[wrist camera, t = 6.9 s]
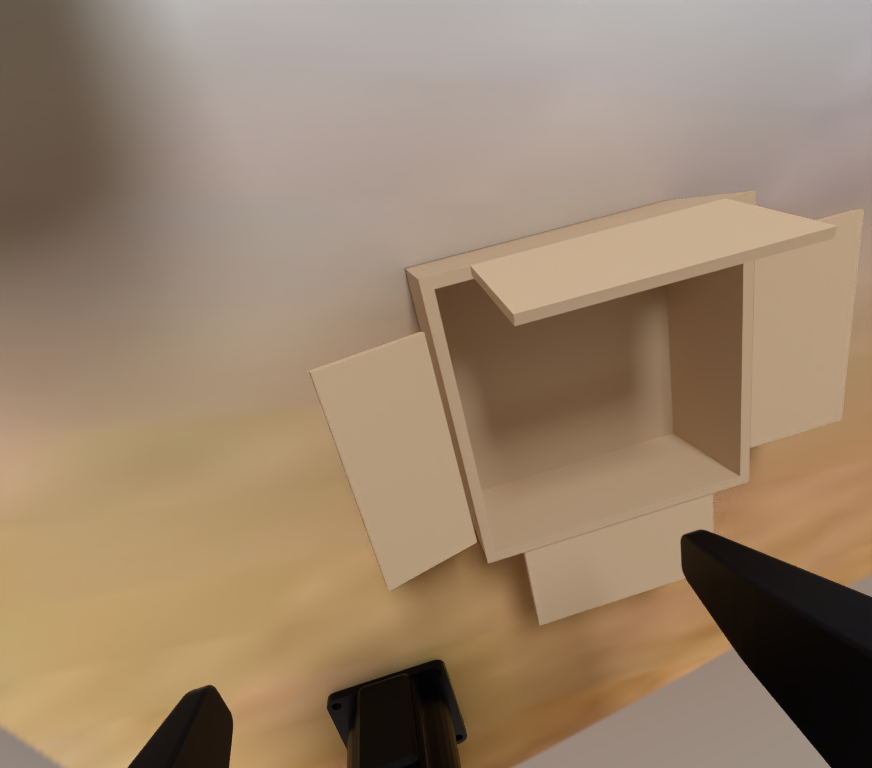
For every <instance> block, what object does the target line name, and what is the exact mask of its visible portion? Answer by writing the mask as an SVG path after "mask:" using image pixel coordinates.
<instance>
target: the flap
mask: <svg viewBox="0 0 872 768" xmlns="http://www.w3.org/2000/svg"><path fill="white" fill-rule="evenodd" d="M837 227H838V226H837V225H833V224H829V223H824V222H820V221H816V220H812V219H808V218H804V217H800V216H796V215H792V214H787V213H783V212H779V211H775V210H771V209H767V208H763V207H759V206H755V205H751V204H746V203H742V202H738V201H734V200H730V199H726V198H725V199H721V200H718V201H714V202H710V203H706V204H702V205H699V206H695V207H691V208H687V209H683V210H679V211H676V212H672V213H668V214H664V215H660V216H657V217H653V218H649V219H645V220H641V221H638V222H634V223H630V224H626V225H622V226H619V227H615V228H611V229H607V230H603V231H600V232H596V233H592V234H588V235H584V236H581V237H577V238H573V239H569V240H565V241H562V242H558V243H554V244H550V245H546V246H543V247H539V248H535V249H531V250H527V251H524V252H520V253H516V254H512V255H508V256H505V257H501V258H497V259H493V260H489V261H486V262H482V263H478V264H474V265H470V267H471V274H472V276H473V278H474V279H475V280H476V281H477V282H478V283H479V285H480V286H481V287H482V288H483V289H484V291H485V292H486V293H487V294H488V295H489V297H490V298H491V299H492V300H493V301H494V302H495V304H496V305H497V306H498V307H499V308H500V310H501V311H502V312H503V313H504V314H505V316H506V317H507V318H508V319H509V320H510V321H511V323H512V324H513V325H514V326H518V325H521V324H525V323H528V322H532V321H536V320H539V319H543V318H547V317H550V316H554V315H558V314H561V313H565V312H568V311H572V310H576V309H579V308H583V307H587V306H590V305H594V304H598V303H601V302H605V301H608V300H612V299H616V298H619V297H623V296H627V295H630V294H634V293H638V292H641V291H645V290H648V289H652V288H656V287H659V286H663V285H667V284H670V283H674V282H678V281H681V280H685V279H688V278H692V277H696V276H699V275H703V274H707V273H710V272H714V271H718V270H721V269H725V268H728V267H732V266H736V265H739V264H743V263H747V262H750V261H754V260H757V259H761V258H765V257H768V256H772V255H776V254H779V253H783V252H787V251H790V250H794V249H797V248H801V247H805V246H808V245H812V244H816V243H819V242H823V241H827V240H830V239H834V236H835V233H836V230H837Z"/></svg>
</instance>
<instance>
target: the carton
mask: <svg viewBox="0 0 872 768" xmlns="http://www.w3.org/2000/svg"><path fill="white" fill-rule="evenodd" d="M725 198H726V199H730V200H734V201H738V202H742V203H746V204H751V205H755V206H756V191H748V192H739V193H730V194H720V195H711V196H702V197H693V198H684V199H674V200H665V201H662V202H658V203H654V204H650V205H646V206H642V207H639V208H635V209H631V210H627V211H623V212H619V213H616V214H612V215H608V216H604V217H600V218H596V219H593V220H589V221H585V222H581V223H577V224H573V225H569V226H566V227H562V228H558V229H554V230H550V231H546V232H543V233H539V234H535V235H531V236H527V237H523V238H520V239H516V240H512V241H508V242H504V243H500V244H497V245H493V246H489V247H485V248H481V249H477V250H474V251H470V252H466V253H462V254H458V255H454V256H451V257H447V258H443V259H439V260H435V261H431V262H428V263H424V264H420V265H416V266H412V267H408V268H405V272H406V276H407V279H408V283H409V287H410V291H411V295H412V299H413V303H414V307H415V311H416V315H417V319H418V323H419V327H420V330H421V332H423V333H425V337H426V341H427V345H428V349H429V353H430V357H431V361H432V365H433V369H434V373H435V377H436V381H437V385H438V389H439V393H440V397H441V401H442V405H443V409H444V413H445V417H446V421H447V425H448V429H449V433H450V437H451V441H452V445H453V449H454V452H455V456H456V460H457V464H458V468H459V472H460V476H461V480H462V484H463V488H464V492H465V496H466V500H467V504H468V508H469V512H470V516H471V520H472V523H473V525H474V528H475V531H476V533H477V536H478V538H479V541H480V544H481V546H482V549H483V551H484V554H485V557H486V559H487V562H488V564H489V563H492V562H495V561H498V560H501V559H505V558H508V557H511V556H514V555H517V554H520V553H523V554H524V559H525V564H526V569H527V574H528V578H529V583H530V588H531V593H532V598H533V603H534V607H535V612H536V617H537V621H538V623H539V625H540V626H541V625H544V624H547V623H550V622H553V621H556V620H559V619H562V618H565V617H568V616H571V615H574V614H577V613H580V612H583V611H586V610H590V609H593V608H596V607H599V606H602V605H605V604H608V603H611V602H614V601H617V600H620V599H623V598H626V597H629V596H632V595H635V594H639V593H642V592H645V591H648V590H651V589H654V588H657V587H660V586H663V585H666V584H669V583H672V582H675V581H678V580H681V579H684V578H685V576H684V574H683V571H682V567H681V545H680V540H681V537H682V535H684V534H686V533H689V532H692V531H696V530H700V529H703V530H707V531H709V532H712V533H713V493H715V492H718V491H721V490H725V489H728V488H731V487H734V486H737V485H741V484H744V483H747V482H749V467H750V448H752V447H755V446H758V445H761V444H765V443H768V442H771V441H774V440H778V439H781V438H784V437H787V436H791V435H794V434H797V433H800V432H804V431H807V430H810V429H813V428H817V427H820V426H823V425H826V424H830V423H833V422H836V421H839V420H842V412H843V402H844V393H845V384H846V374H847V365H848V356H849V346H850V337H851V328H852V318H853V309H854V300H855V290H856V281H857V272H858V262H859V253H860V244H861V234H862V225H863V216H864V209H859V210H852V211H848V212H844V213H841V214H837V215H833V216H830V217H826V218H822V219H819V220H816V221H820V222H824V223H829V224H833V225H837V226H838V227H837V230H836V233H835V236H834V239H830V240H827V241H823V242H819V243H816V244H812V245H808V246H805V247H801V248H797V249H794V250H790V251H787V252H783V253H779V254H776V255H772V256H768V257H765V258H761V259H757V260H754V261H750V262H747V263H743V264H739V265H736V266H732V267H728V268H725V269H721V270H718V271H714V272H710V273H707V274H703V275H699V276H696V277H692V278H688V279H685V280H681V281H678V282H674V283H670V284H667V285H663V286H659V287H656V288H652V289H648V290H645V291H641V292H638V293H634V294H630V295H627V296H623V297H619V298H616V299H612V300H608V301H605V302H601V303H598V304H594V305H590V306H587V307H583V308H579V309H576V310H572V311H568V312H565V313H561V314H558V315H554V316H550V317H547V318H543V319H539V320H536V321H532V322H528V323H525V324H521V325H518V326H514V325H513V324H512V323H511V321H510V320H509V319H508V318H507V317H506V316H505V314H504V313H503V312H502V311H501V310H500V308H499V307H498V306H497V305H496V304H495V302H494V301H493V300H492V299H491V298H490V297H489V295H488V294H487V293H486V292H485V291H484V289H483V288H482V287H481V286H480V285H479V283H478V282H477V281H476V280H475V279H474V278H473V276H472V274H471V267H470V265H474V264H478V263H482V262H486V261H489V260H493V259H497V258H501V257H505V256H508V255H512V254H516V253H520V252H524V251H527V250H531V249H535V248H539V247H543V246H546V245H550V244H554V243H558V242H562V241H565V240H569V239H573V238H577V237H581V236H584V235H588V234H592V233H596V232H600V231H603V230H607V229H611V228H615V227H619V226H622V225H626V224H630V223H634V222H638V221H641V220H645V219H649V218H653V217H657V216H660V215H664V214H668V213H672V212H676V211H679V210H683V209H687V208H691V207H695V206H699V205H702V204H706V203H710V202H714V201H718V200H721V199H725Z"/></svg>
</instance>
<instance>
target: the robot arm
mask: <svg viewBox="0 0 872 768" xmlns="http://www.w3.org/2000/svg"><path fill="white" fill-rule="evenodd" d="M680 545H681V567H682V571H683V574H684V576H685V578H686V580H687V581H688V583H689V584H690V586H691V587H692V589H693V590H694V591H695V593H696V594H697V596H698V597H699V599H700V600H701V602H702V603H703V604H704V606H705V607H706V609H707V610H708V612H709V613H710V615H711V616H712V618H713V619H714V620H715V622H716V623H717V625H718V626H719V628H720V629H721V631H722V632H723V633H724V635H725V636H726V638H727V639H728V641H729V642H730V644H731V645H732V646H733V648H734V649H735V651H736V652H737V653H738V655H739V656H740V657H741V659H742V660H743V661H744V663H745V664H746V665H747V666H748V668H749V669H750V670H751V671H752V673H753V674H754V675H755V676H756V677H757V679H758V680H759V681H760V682H761V683H762V685H763V686H764V687H765V688H766V690H767V691H768V692H769V693H770V694H771V696H772V697H773V698H774V699H775V700H776V702H777V703H778V704H779V705H780V706H781V708H782V709H783V710H784V711H785V712H786V714H787V715H788V716H789V717H790V719H791V720H792V721H793V722H794V723H795V724H796V726H797V727H798V728H799V729H800V730H801V732H802V733H803V734H804V735H805V737H806V738H807V739H808V740H809V741H810V743H811V744H812V745H813V746H814V747H815V749H816V750H817V751H818V752H819V753H820V755H821V756H822V757H823V758H824V760H825V761H826V762H827V763H828V764H829V766H830V767H831V768H872V597H870V596H868V595H865V594H863V593H860V592H858V591H856V590H853V589H851V588H848V587H846V586H843V585H841V584H838V583H836V582H833V581H831V580H828V579H826V578H823V577H821V576H818V575H816V574H813V573H811V572H809V571H806V570H804V569H801V568H799V567H796V566H794V565H791V564H789V563H786V562H784V561H781V560H779V559H776V558H774V557H771V556H769V555H766V554H764V553H761V552H759V551H757V550H754V549H752V548H749V547H747V546H744V545H742V544H739V543H737V542H734V541H732V540H729V539H727V538H724V537H722V536H719V535H717V534H714V533H712V532H709V531H707V530H703V529H700V530H696V531H692V532H689V533H686V534H684V535H682V537H681V540H680ZM327 710H328V712H329V714H330V716H331V718H332V720H333V722H334V724H335V726H336V728H337V730H338V732H339V734H340V736H341V738H342V740H343V742H344V744H345V746H346V749H347V768H461V764H460V758H459V753H458V748H457V744H459V743H461V742H463V741H464V740H466V738H467V734H466V729H465V726H464V722H463V719H462V716H461V713H460V710H459V707H458V704H457V701H456V698H455V695H454V692H453V689H452V686H451V683H450V679H449V676H448V673H447V670H446V667H445V664H444V662H443V661H441V660H433V661H430V662H427V663H424V664H421V665H418V666H415V667H412V668H409V669H406V670H403V671H400V672H397V673H393V674H390V675H387V676H384V677H381V678H378V679H375V680H372V681H369V682H366V683H363V684H360V685H357V686H354V687H351V688H348V689H344V690H341V691H338V692H335V693H333V694H331V695H330V696H329V697H328V701H327ZM232 733H233V719H232V715H231V712H230V710H229V709H228V707H227V705H226V704H225V702H224V700H223V699H222V697H221V696H220V694H219V692H218V691H217V689H216V688H215V687H214V686H212V685H207V686H204V687H201V688H198V689H194V690H192V691H189V692H188V693H187V694H185V696H184V697H183V698H182V699H181V700H180V702H179V703H178V704H177V705H176V707H175V708H174V709H173V710H172V712H171V713H170V714H169V716H168V717H167V718H166V719H165V721H164V722H163V723H162V724H161V726H160V727H159V728H158V730H157V731H156V732H155V733H154V735H153V736H152V737H151V738H150V740H149V741H148V742H147V744H146V745H145V746H144V747H143V749H142V750H141V751H140V752H139V754H138V755H137V756H136V758H135V759H134V760H133V761H132V763H131V764H130V765H129V766H128V768H229V762H230V752H231V742H232Z"/></svg>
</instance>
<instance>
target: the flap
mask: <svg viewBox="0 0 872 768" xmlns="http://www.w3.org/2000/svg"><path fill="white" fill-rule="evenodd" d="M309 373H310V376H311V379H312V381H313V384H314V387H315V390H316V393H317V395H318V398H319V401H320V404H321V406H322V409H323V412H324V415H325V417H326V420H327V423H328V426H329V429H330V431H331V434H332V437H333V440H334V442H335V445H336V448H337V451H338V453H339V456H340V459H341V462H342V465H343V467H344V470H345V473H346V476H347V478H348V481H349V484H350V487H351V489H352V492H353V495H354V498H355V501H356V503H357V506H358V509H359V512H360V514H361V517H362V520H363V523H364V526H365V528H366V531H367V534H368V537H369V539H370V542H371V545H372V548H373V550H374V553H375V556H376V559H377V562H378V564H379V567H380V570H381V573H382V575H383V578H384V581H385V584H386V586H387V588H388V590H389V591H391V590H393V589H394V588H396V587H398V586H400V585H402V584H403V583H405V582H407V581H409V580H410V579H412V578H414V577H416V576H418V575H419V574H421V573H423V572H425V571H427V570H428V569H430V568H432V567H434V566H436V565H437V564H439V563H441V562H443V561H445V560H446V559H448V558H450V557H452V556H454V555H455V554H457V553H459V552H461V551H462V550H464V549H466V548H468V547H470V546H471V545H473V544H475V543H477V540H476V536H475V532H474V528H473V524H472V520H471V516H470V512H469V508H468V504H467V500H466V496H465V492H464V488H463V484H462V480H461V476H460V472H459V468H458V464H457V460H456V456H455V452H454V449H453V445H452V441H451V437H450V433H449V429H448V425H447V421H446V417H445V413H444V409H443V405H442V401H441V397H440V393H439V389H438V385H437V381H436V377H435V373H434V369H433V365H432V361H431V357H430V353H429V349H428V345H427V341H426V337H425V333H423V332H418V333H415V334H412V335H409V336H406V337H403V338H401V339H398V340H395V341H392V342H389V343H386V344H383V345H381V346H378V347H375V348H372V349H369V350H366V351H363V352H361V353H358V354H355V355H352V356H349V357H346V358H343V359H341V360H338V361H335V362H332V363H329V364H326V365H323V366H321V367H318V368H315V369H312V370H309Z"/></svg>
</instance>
